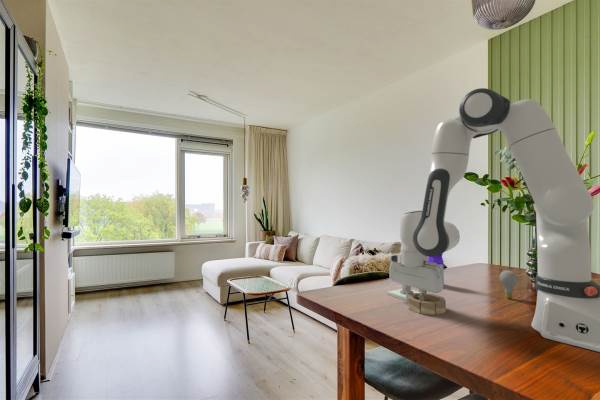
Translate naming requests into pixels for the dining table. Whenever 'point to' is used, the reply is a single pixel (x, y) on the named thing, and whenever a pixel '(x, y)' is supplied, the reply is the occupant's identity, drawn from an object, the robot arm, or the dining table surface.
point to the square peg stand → (401, 293)
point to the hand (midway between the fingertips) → (414, 300)
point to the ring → (427, 304)
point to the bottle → (438, 263)
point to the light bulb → (508, 282)
